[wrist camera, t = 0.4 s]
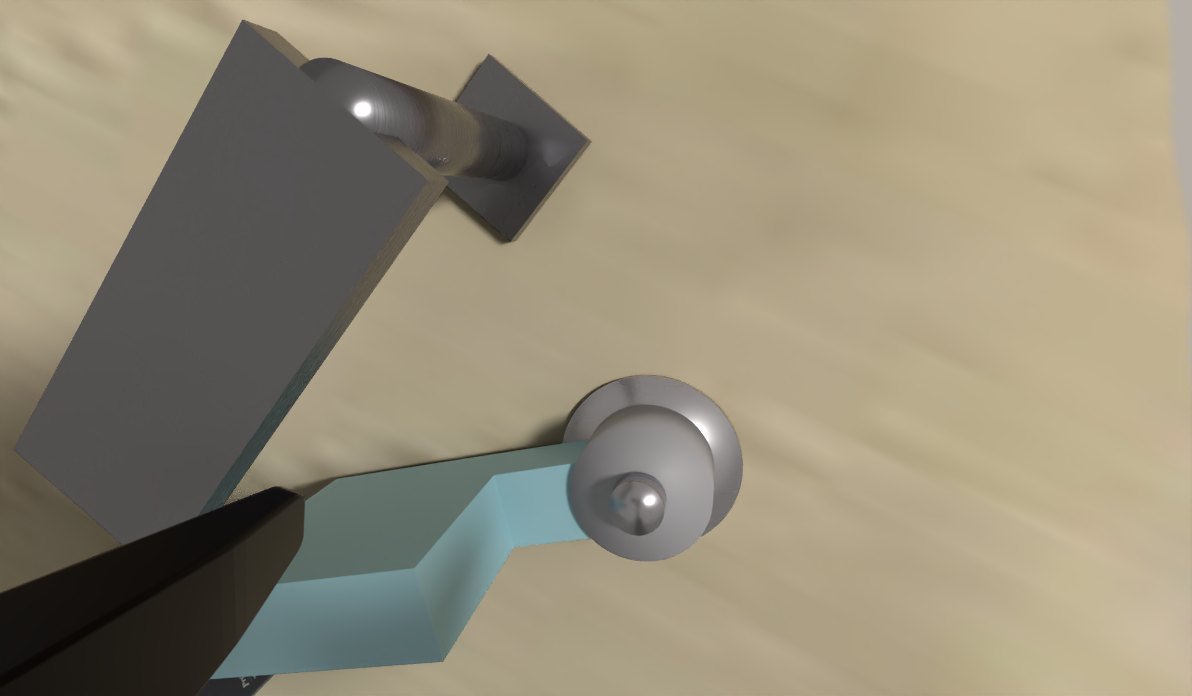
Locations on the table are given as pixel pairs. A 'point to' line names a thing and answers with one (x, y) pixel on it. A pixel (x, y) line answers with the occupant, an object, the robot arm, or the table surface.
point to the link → (461, 541)
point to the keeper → (267, 265)
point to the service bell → (639, 493)
